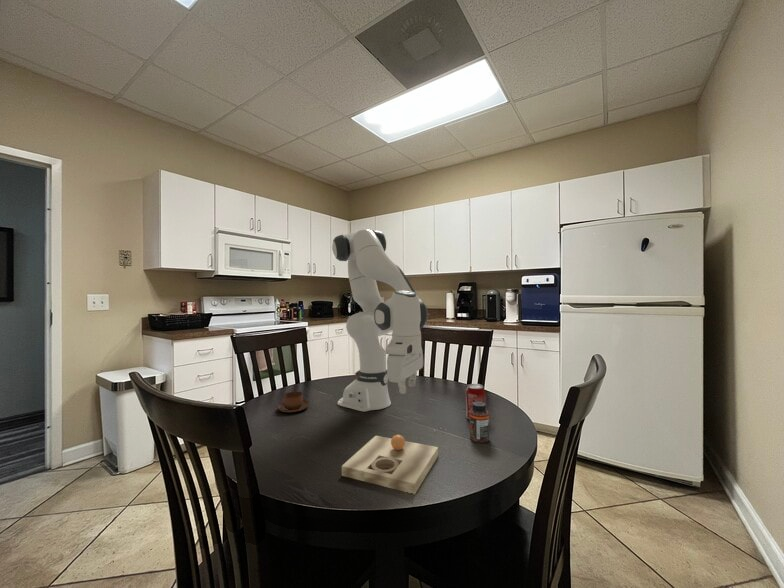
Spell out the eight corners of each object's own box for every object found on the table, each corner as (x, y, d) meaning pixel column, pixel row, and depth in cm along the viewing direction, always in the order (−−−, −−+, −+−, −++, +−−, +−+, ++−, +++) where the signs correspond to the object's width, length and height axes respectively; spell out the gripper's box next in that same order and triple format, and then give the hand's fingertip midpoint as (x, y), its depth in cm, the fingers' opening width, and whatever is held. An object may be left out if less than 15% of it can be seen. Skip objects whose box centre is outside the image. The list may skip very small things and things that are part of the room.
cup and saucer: (271, 412, 130) (271, 397, 130) (291, 403, 141) (291, 388, 141) (296, 416, 125) (295, 400, 125) (314, 406, 136) (314, 391, 136)
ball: (388, 451, 91) (388, 437, 91) (394, 445, 95) (394, 431, 95) (401, 454, 90) (401, 439, 89) (407, 447, 93) (407, 433, 93)
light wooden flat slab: (341, 475, 84) (341, 465, 84) (375, 443, 101) (375, 435, 101) (414, 494, 76) (414, 483, 76) (438, 455, 93) (438, 447, 93)
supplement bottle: (467, 435, 106) (466, 400, 106) (485, 434, 106) (484, 399, 106) (473, 444, 100) (472, 407, 100) (492, 442, 100) (491, 406, 100)
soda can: (486, 423, 115) (485, 389, 115) (466, 421, 117) (466, 388, 116) (484, 415, 122) (484, 383, 122) (466, 414, 123) (465, 383, 123)
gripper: (409, 338, 110) (410, 379, 110) (382, 349, 91) (383, 398, 91) (427, 339, 107) (428, 381, 107) (403, 350, 89) (404, 401, 89)
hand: (407, 389), depth 99 cm, fingers open, 6 cm apart
